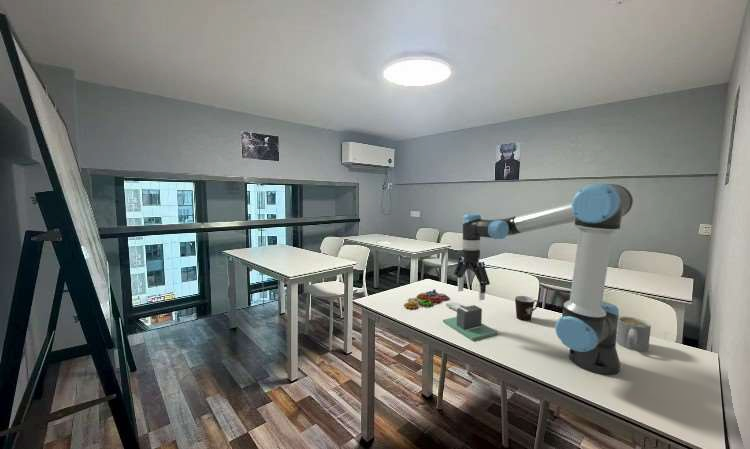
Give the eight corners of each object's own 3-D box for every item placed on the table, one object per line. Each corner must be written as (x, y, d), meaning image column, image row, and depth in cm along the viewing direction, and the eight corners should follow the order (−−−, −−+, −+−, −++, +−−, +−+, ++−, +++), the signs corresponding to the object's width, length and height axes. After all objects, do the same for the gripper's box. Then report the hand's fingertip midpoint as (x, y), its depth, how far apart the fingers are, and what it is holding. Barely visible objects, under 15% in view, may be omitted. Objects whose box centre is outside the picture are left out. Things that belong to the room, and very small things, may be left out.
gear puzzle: (415, 313, 156) (415, 306, 155) (394, 305, 168) (394, 298, 167) (451, 299, 176) (451, 293, 176) (429, 292, 188) (429, 286, 188)
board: (497, 334, 132) (497, 322, 132) (472, 340, 126) (472, 329, 126) (465, 317, 150) (466, 307, 150) (442, 322, 145) (443, 311, 144)
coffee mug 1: (516, 321, 145) (517, 301, 144) (512, 314, 154) (513, 295, 153) (542, 323, 143) (543, 303, 142) (537, 316, 151) (538, 297, 150)
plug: (481, 325, 138) (481, 308, 137) (464, 329, 134) (464, 312, 133) (473, 321, 142) (474, 304, 142) (456, 325, 138) (457, 308, 138)
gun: (442, 303, 160) (452, 298, 167) (442, 309, 160) (451, 304, 167) (474, 314, 147) (483, 309, 155) (474, 321, 148) (483, 315, 155)
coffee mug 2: (621, 336, 129) (623, 314, 128) (651, 346, 121) (654, 322, 120) (609, 345, 122) (611, 322, 121) (640, 357, 114) (643, 331, 113)
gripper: (499, 252, 125) (498, 302, 126) (459, 244, 147) (458, 286, 149) (485, 254, 121) (484, 305, 123) (446, 245, 144) (446, 288, 146)
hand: (470, 295), depth 136 cm, fingers open, 13 cm apart
